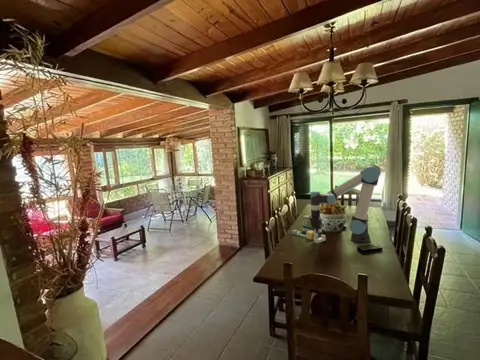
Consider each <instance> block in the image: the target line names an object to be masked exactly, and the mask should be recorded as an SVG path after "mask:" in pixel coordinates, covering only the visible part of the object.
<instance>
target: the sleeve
mask: <svg viewBox="0 0 480 360" xmlns="http://www.w3.org/2000/svg"><path fill="white" fill-rule="evenodd" d="M305 235H306V236H307V238H306V239H307V240H310V241H311V240H312V237H314V231H311V230H310V231H307V232H306V231H305ZM312 241H313V240H312Z"/></svg>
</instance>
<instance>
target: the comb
mask: <svg viewBox="0 0 480 360" xmlns="http://www.w3.org/2000/svg"><path fill="white" fill-rule="evenodd" d="M326 239H327V237H326V235H325V234H321V235H320V237H318V236H317V237H314V240H313V241H314V243H315V244H320V243H322V242H321V240H323V242H325V241H326Z"/></svg>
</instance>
